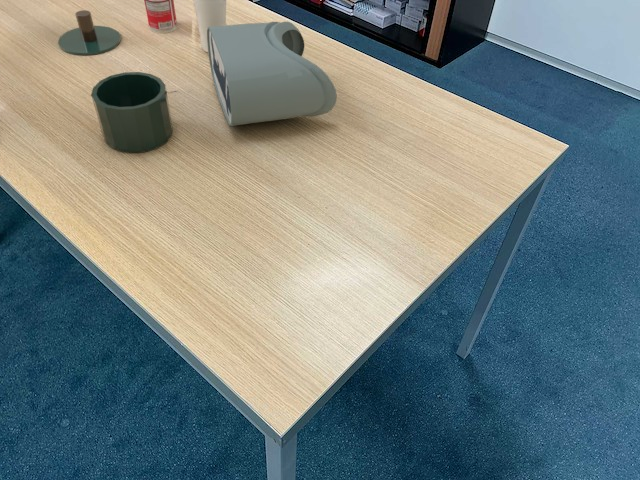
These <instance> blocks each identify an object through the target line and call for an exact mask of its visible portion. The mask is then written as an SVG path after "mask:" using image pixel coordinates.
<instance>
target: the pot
mask: <svg viewBox="0 0 640 480" xmlns="http://www.w3.org/2000/svg"><path fill="white" fill-rule="evenodd" d="M91 99H92V102H93V107H94V110H95V114H96V117H97V120H98V123H99V127H100V131H101V134H102V137H103V139H104V142H105V144H106V145H108V147H109V148H111V149H113V150H115V151H118V152H121V153H126V154H140V153H147V152H151V151H154V150H157V149H158V148H161V147H162V146H164V145H165V144H166V143H167V142H168V141H170V139H171V138H172V136H173V132H174V131H173V130H174V129H173V121H172V114H171V110H170V103H169V98H168V91H167V86H166V83H164V81H163V80H162V78H160V77H158V76H156V75H154V74H152V73H147V72H142V71H129V72H128V71H127V72H126V71H125V72H121V73H116V74H111V75H109V76H107V77H105V78H103V79H100V80H99V82H97V83H96V84H95V85H94V86H93V87H92V91H91Z"/></svg>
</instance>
